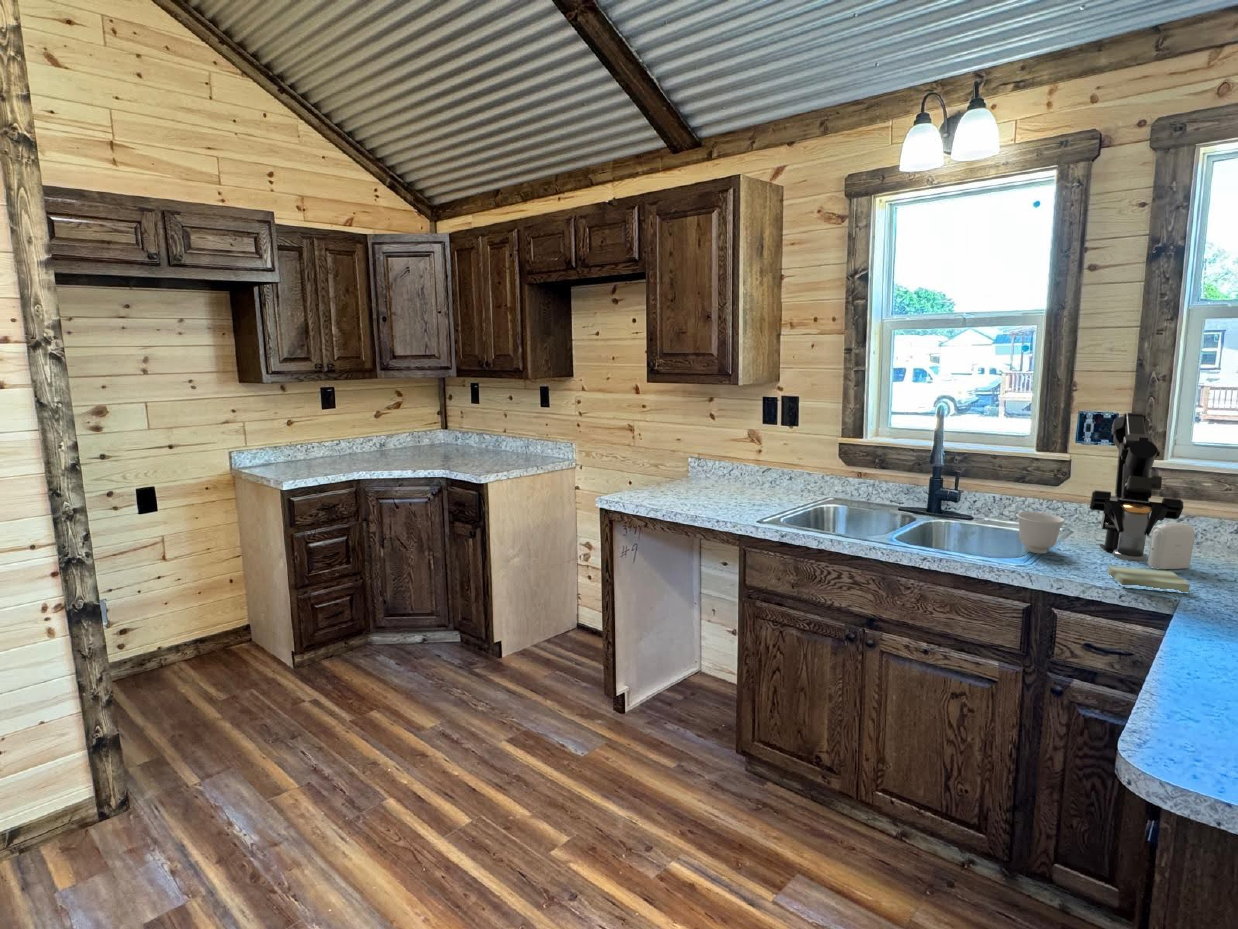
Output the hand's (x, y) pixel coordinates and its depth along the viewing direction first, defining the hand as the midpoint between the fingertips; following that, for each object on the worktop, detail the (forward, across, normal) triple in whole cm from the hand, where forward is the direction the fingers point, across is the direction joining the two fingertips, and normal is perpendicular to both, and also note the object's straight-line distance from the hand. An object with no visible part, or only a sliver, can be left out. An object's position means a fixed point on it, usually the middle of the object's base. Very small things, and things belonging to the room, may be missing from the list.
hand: (1133, 533), depth 179 cm
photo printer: (-6, +11, +25) cm, 28 cm away
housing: (+4, 0, +6) cm, 7 cm away
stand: (+8, +4, +11) cm, 14 cm away
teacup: (-5, -20, +25) cm, 32 cm away
